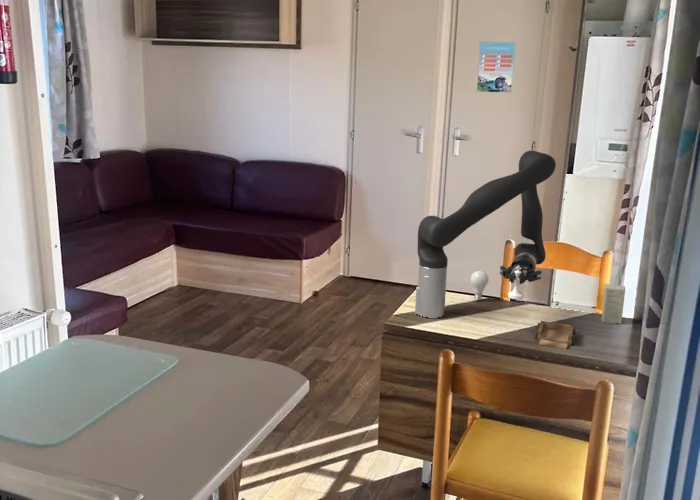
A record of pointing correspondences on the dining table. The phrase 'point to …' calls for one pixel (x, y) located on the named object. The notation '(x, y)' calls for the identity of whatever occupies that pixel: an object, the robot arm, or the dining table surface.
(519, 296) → the chess piece
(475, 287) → the lightbulb
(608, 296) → the skincare box
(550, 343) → the truck bed
